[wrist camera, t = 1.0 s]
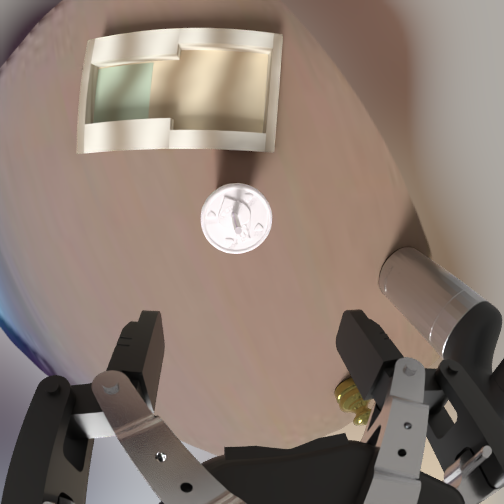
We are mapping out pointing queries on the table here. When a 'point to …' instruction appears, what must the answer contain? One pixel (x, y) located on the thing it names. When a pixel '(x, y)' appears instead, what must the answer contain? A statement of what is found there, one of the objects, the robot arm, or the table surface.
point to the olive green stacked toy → (353, 402)
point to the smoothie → (236, 218)
